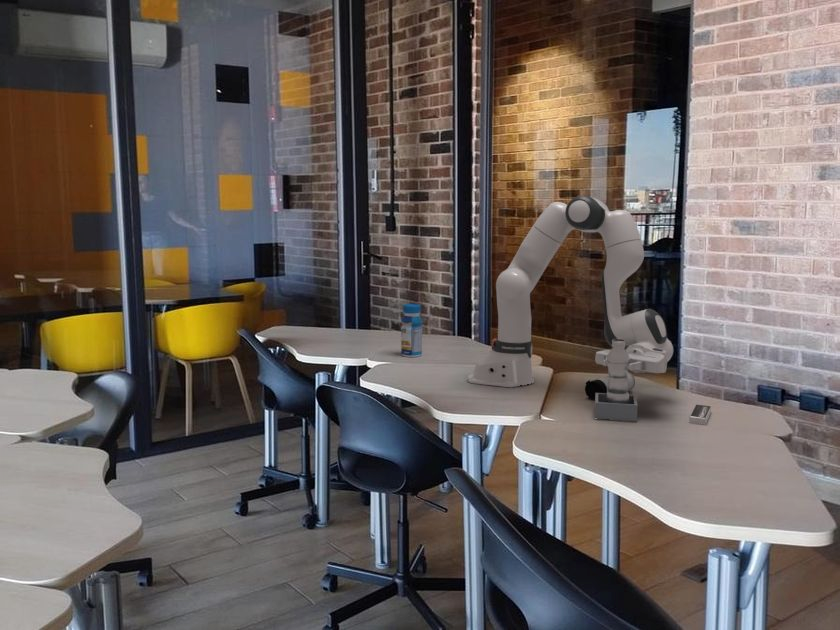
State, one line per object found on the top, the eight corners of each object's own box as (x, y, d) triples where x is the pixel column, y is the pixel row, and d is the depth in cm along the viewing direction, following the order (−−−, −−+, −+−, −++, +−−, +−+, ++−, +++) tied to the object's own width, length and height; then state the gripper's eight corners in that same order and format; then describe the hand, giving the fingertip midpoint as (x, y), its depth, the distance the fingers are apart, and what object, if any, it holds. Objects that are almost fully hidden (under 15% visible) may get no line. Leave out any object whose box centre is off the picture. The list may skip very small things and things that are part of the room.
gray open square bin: (594, 419, 228) (595, 402, 227) (594, 408, 239) (595, 392, 238) (636, 421, 225) (637, 405, 225) (634, 411, 237) (635, 395, 236)
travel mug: (628, 366, 260) (593, 376, 246) (639, 384, 258) (604, 395, 244) (614, 376, 264) (579, 386, 250) (625, 393, 262) (590, 404, 248)
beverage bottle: (422, 357, 309) (422, 306, 305) (400, 357, 309) (400, 306, 306) (422, 353, 317) (422, 303, 314) (401, 353, 317) (401, 303, 314)
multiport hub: (688, 424, 225) (689, 416, 225) (695, 411, 238) (695, 404, 238) (705, 426, 223) (706, 418, 223) (710, 413, 236) (711, 406, 236)
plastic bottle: (615, 412, 228) (617, 343, 224) (601, 406, 234) (602, 339, 230) (634, 409, 230) (635, 341, 227) (619, 403, 236) (620, 336, 233)
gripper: (608, 343, 246) (585, 349, 236) (672, 352, 232) (650, 359, 222) (608, 363, 247) (584, 370, 237) (671, 373, 233) (649, 381, 223)
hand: (616, 365), depth 229 cm, fingers closed on plastic bottle, 6 cm apart
